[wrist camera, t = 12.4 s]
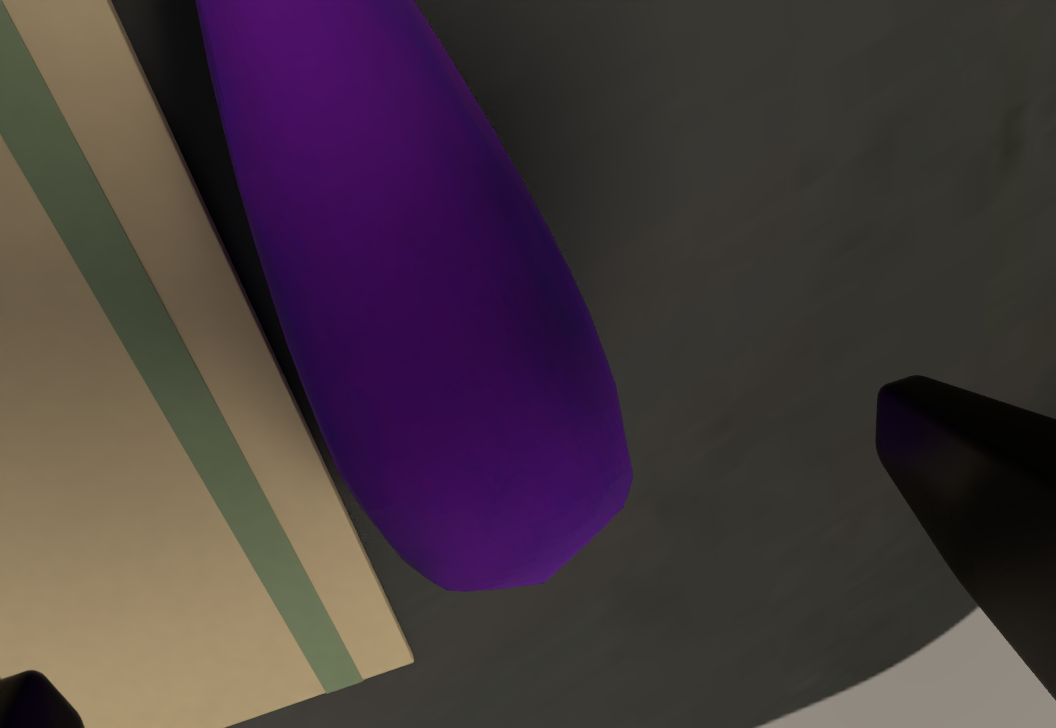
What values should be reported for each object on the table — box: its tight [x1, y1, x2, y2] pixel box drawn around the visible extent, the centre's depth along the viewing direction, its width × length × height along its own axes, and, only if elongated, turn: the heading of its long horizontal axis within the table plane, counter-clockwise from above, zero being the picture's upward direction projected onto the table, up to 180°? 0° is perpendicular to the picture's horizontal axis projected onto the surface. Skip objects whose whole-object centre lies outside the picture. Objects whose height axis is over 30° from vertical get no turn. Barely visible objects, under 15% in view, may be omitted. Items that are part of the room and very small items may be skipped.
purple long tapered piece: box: [195, 0, 633, 591], centre depth 14 cm, size 5×5×15 cm
